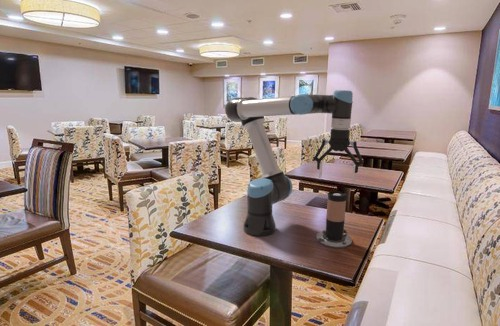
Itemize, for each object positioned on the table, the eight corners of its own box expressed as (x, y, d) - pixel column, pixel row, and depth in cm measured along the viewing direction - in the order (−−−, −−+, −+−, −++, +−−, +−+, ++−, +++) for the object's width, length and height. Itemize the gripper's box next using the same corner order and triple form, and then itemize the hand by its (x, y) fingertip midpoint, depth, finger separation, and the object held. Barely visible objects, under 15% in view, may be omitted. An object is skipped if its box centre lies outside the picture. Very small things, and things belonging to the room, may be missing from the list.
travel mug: (325, 240, 136) (328, 195, 132) (324, 232, 143) (327, 190, 139) (343, 241, 134) (347, 196, 130) (342, 234, 142) (345, 191, 138)
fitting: (314, 244, 134) (315, 232, 133) (319, 225, 154) (320, 214, 153) (351, 250, 130) (352, 237, 129) (351, 229, 150) (352, 218, 149)
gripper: (308, 128, 131) (305, 177, 135) (373, 131, 123) (367, 183, 128) (311, 126, 138) (308, 173, 142) (372, 129, 130) (367, 179, 135)
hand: (336, 178), depth 135 cm, fingers open, 13 cm apart
